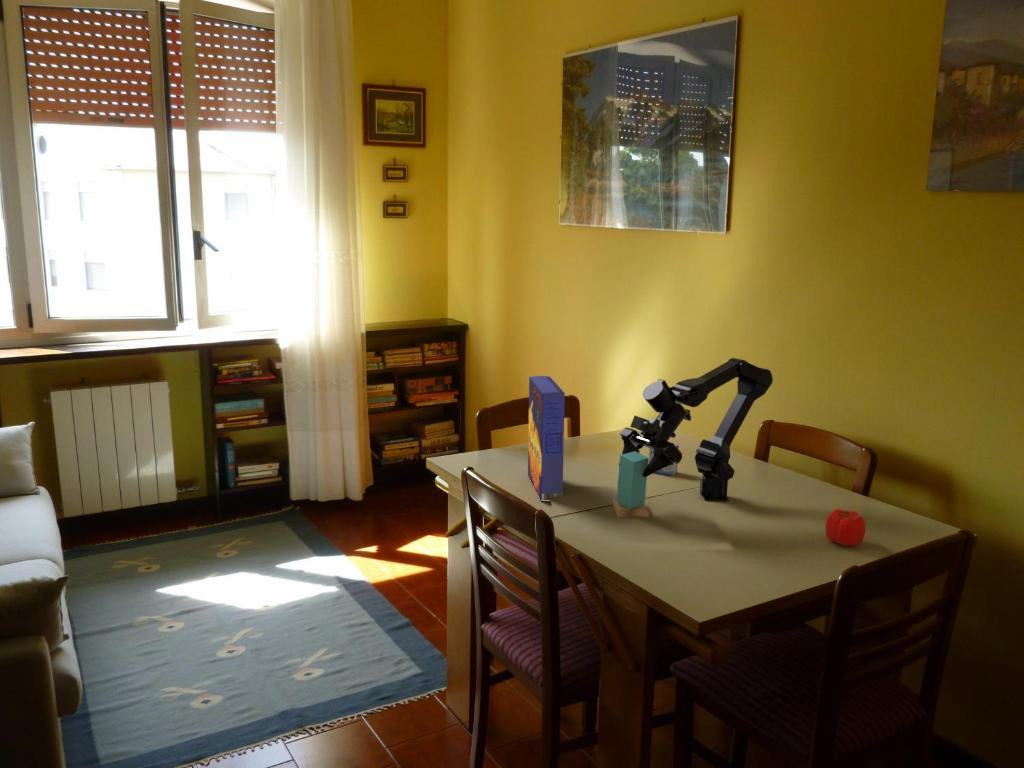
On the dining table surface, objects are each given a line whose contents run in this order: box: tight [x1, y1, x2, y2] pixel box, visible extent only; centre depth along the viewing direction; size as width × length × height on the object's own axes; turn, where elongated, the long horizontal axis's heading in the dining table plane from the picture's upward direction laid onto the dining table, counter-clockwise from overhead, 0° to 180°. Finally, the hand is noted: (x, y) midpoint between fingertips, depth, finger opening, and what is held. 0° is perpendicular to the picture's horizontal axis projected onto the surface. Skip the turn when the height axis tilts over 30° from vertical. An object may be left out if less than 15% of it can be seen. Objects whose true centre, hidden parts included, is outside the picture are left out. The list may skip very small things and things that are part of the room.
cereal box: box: [527, 375, 566, 501], centre depth 235 cm, size 22×6×30 cm, turn 8°
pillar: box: [616, 451, 649, 509], centre depth 214 cm, size 5×5×13 cm
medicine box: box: [648, 443, 680, 477], centre depth 252 cm, size 8×4×9 cm, turn 62°
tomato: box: [824, 508, 867, 547], centre depth 200 cm, size 9×9×8 cm
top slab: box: [612, 498, 650, 518], centre depth 217 cm, size 8×8×2 cm
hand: (631, 471), depth 214 cm, fingers open, 9 cm apart
